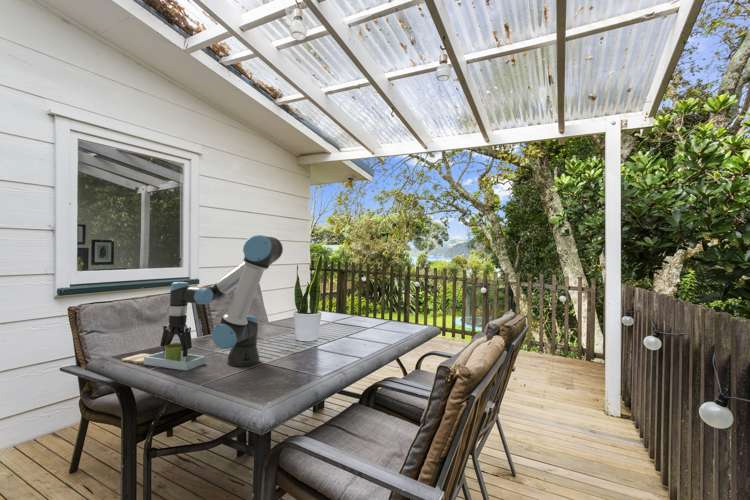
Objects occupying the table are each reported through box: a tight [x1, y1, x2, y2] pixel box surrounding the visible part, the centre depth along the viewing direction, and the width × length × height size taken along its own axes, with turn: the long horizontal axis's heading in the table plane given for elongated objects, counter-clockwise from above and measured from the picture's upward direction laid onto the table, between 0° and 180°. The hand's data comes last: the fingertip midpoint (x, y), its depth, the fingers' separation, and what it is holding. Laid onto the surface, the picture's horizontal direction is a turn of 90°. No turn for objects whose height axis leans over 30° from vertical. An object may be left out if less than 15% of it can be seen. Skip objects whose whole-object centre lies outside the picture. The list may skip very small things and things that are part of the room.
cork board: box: [120, 352, 152, 365], centre depth 180 cm, size 12×12×1 cm
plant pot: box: [165, 342, 182, 361], centre depth 175 cm, size 9×9×9 cm
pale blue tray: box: [143, 350, 206, 371], centre depth 175 cm, size 24×12×4 cm, turn 76°
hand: (174, 362), depth 175 cm, fingers closed on plant pot, 8 cm apart
